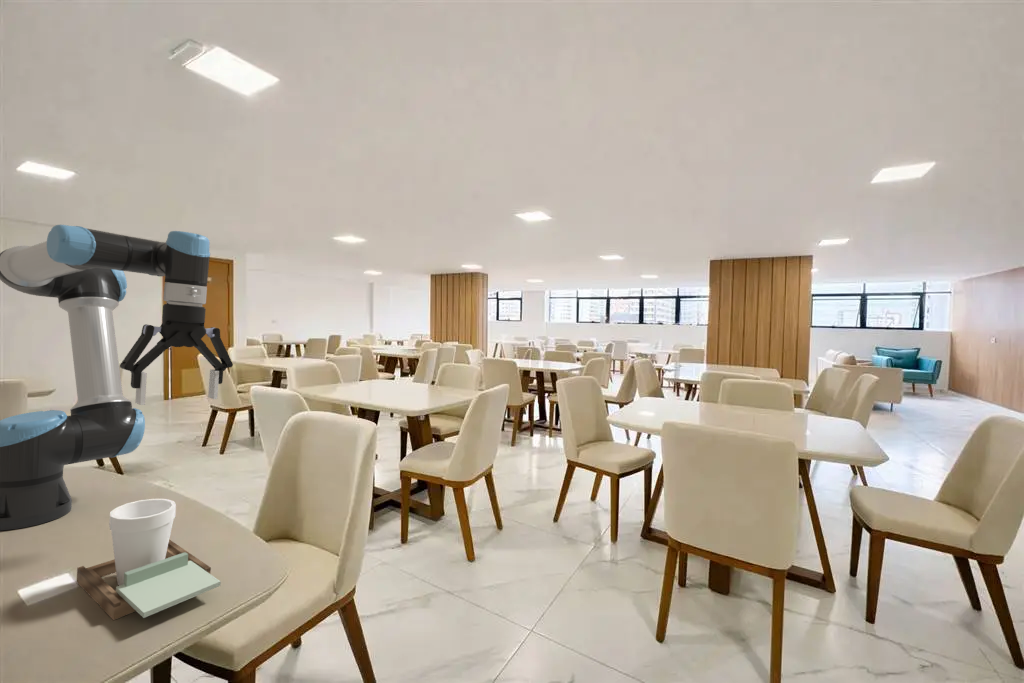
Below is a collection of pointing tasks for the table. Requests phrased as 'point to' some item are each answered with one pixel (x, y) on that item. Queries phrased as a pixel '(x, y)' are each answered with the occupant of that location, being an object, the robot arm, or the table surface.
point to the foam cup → (140, 533)
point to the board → (106, 594)
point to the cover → (165, 584)
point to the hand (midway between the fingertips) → (178, 400)
